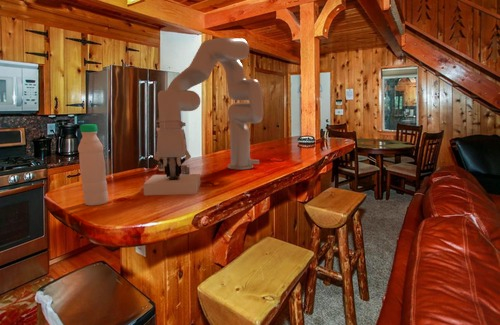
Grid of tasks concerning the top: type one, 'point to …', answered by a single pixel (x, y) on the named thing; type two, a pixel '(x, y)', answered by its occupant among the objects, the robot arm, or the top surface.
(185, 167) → the short pin
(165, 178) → the hole board
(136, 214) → the top surface
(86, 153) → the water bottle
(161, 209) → the top surface
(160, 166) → the decorative candle
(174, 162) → the long pin
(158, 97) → the robot arm
